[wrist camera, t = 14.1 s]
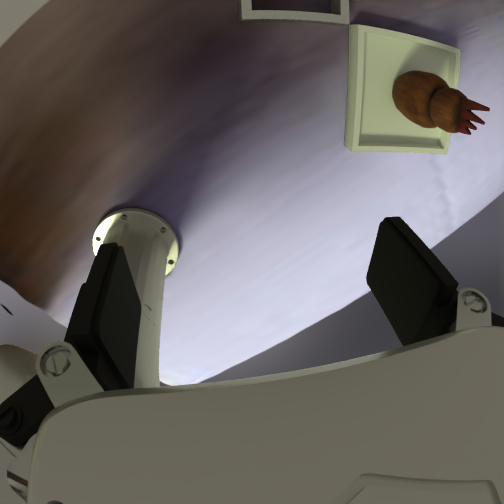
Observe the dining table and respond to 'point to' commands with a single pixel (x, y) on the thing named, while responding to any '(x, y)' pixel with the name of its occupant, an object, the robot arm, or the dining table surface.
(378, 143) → the sage tray
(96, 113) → the dining table surface
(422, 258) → the robot arm
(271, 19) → the white square bin
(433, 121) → the brown lumpy elongated piece
